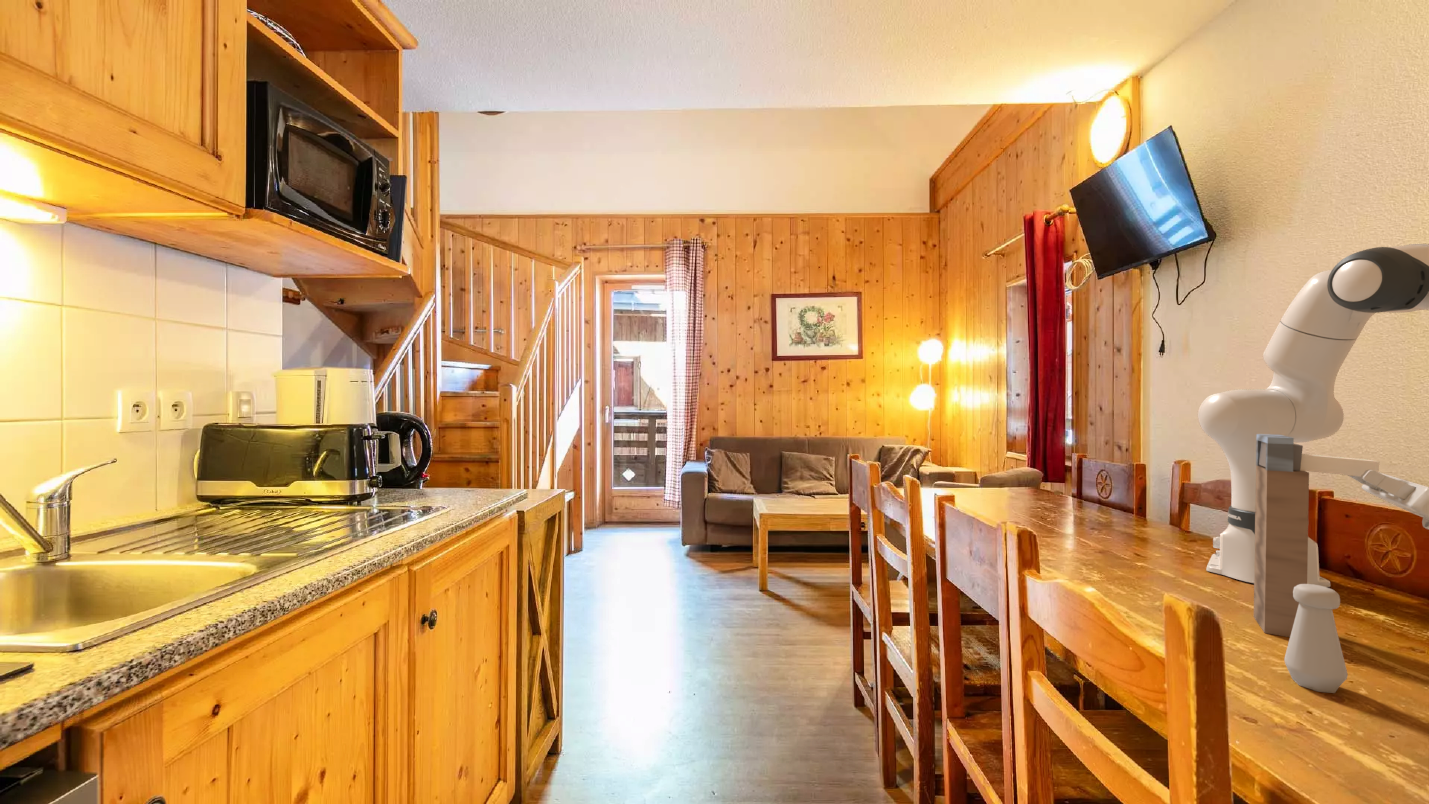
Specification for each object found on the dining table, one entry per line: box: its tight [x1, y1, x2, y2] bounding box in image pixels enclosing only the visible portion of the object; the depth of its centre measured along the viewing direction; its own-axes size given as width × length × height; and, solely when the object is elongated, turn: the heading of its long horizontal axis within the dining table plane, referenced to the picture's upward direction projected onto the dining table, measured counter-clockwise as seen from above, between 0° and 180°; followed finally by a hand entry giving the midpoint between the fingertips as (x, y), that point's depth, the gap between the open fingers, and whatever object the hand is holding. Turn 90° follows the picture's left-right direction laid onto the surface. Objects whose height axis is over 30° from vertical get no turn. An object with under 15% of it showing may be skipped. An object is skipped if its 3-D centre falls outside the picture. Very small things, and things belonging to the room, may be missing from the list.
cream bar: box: [1259, 442, 1380, 477], centre depth 94 cm, size 5×13×4 cm, turn 57°
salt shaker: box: [1283, 584, 1348, 694], centre depth 77 cm, size 6×6×13 cm
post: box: [1253, 434, 1310, 638], centre depth 96 cm, size 8×5×31 cm, turn 147°
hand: (1353, 469), depth 91 cm, fingers open, 8 cm apart
